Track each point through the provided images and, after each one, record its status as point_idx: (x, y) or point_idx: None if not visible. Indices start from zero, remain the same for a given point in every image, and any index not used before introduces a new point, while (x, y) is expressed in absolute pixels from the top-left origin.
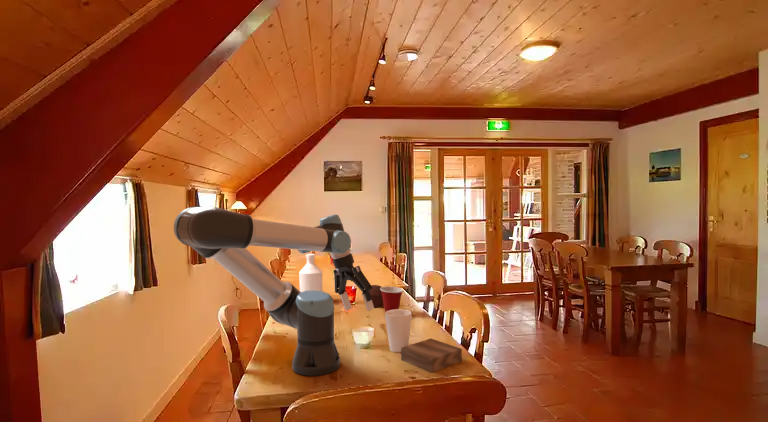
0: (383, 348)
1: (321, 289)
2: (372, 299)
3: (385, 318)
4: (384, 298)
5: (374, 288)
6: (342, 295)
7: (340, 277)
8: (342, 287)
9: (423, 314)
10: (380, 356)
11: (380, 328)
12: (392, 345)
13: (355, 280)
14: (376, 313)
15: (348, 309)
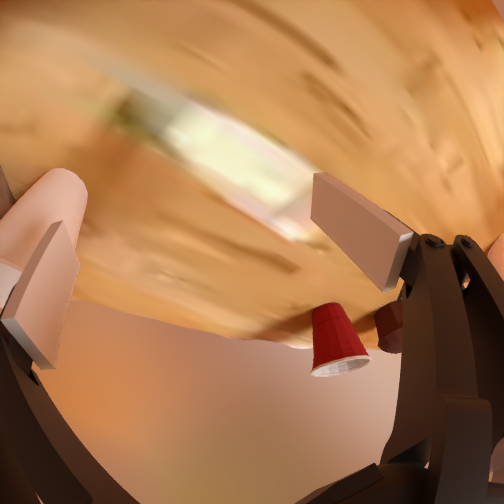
0: (87, 158)
1: (501, 277)
2: (395, 319)
3: (9, 239)
4: (346, 339)
5: (401, 344)
6: (390, 239)
7: (475, 475)
8: (422, 312)
9: (266, 339)
10: (32, 118)
11: (268, 249)
12: (40, 179)
13: (44, 496)
14: (362, 294)
15: (313, 191)
